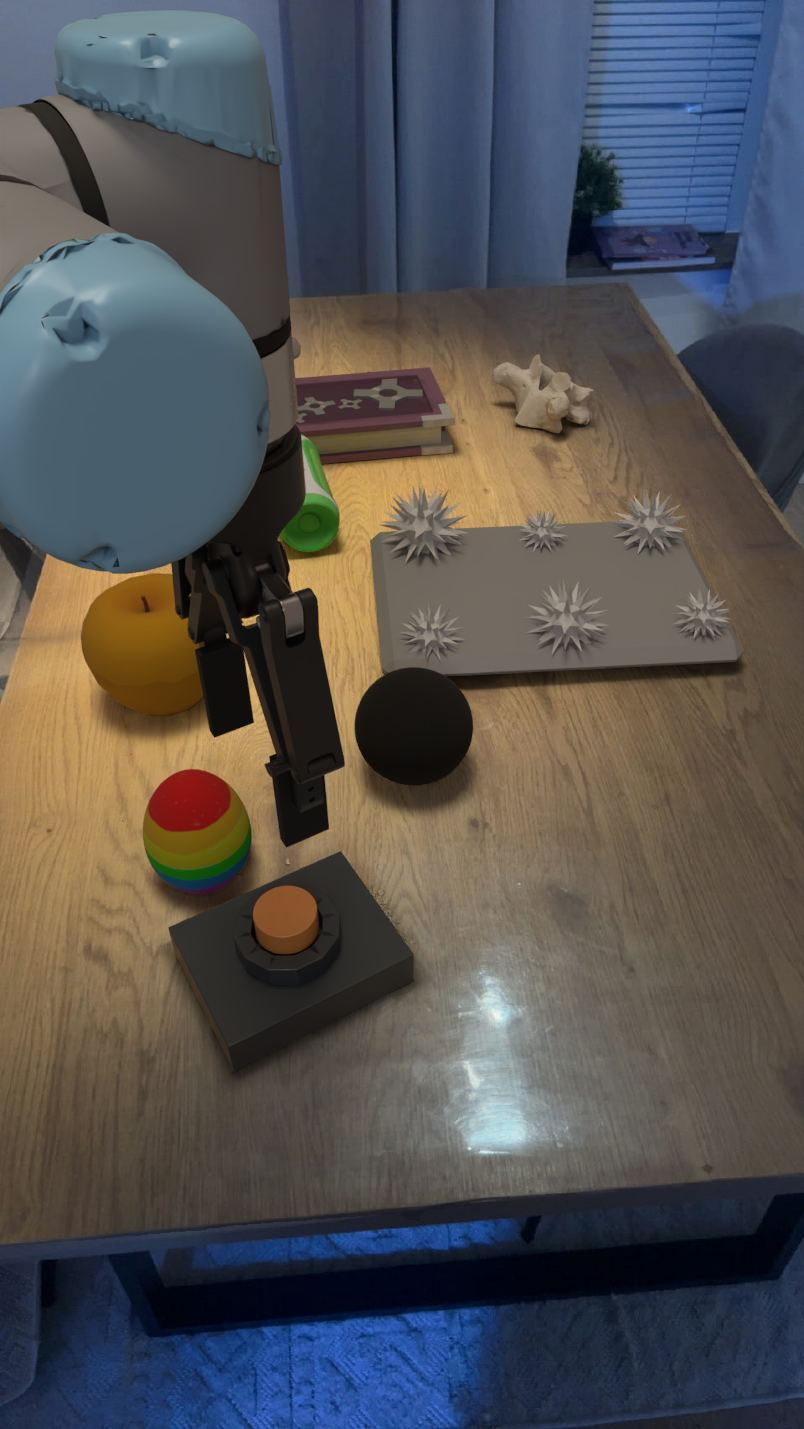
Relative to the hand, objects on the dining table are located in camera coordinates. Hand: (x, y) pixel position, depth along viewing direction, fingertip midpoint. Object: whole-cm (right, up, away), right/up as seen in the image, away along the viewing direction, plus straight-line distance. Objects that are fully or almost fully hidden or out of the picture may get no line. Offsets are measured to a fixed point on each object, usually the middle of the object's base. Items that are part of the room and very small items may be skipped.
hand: (266, 777), depth 61 cm
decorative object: (+27, +43, +77) cm, 93 cm away
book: (+1, +41, +76) cm, 86 cm away
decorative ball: (+9, -1, +28) cm, 30 cm away
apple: (-14, +6, +36) cm, 39 cm away
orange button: (0, -11, +10) cm, 15 cm away
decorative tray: (+23, +15, +46) cm, 54 cm away
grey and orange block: (0, -15, +13) cm, 20 cm away
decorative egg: (-8, -9, +20) cm, 23 cm away
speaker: (-4, +27, +60) cm, 66 cm away
